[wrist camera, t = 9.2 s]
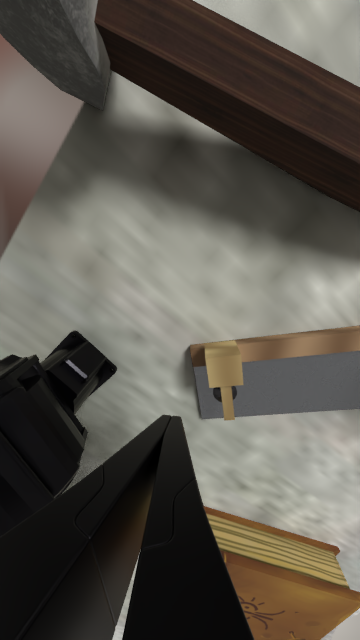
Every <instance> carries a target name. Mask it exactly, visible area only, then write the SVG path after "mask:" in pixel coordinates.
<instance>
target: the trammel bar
mask: <svg viewBox="0 0 360 640" xmlns="http://www.w3.org/2000/svg"><path fill="white" fill-rule="evenodd" d="M351 351H360V326H352V327H344V328H335V329H326V330H317V331H309V332H300V333H291V334H282V335H273V336H265V337H256V338H247V339H238V340H229V341H221V342H212V343H203V344H194V345H190V352H191V358H192V364H193V367H200V366H207V374H208V381H209V388H214V387H220V389H221V398H222V406H223V414H224V420H235V418H234V408H233V398H232V389H231V386H237V385H244V384H243V372H242V362H250V361H260V360H270V359H280V358H290V357H300V356H310V355H321V354H331V353H341V352H351Z"/></svg>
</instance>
